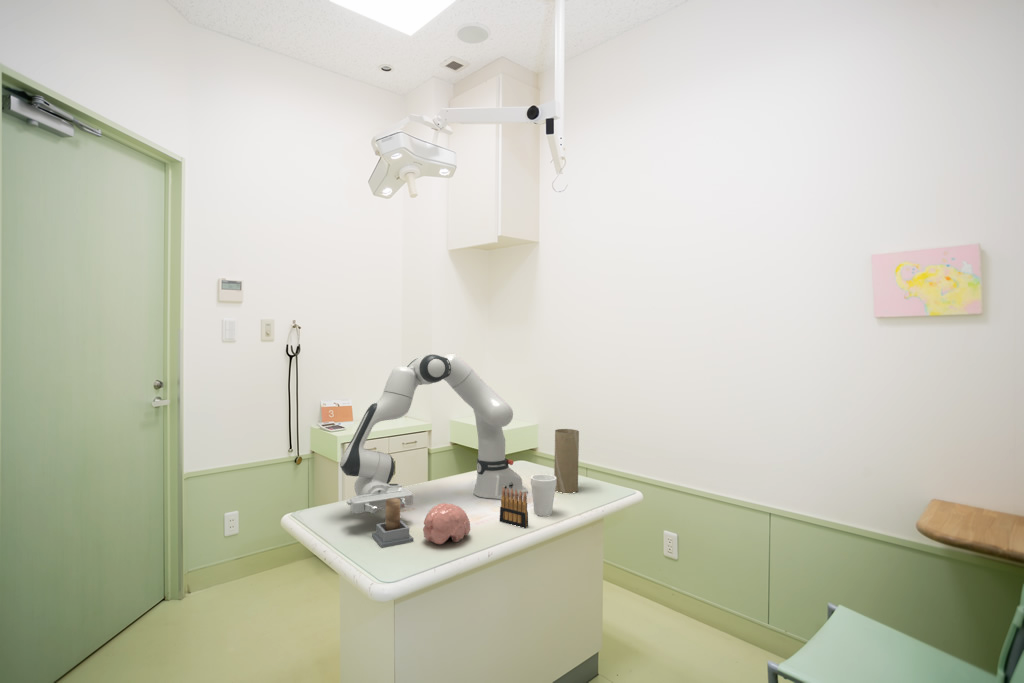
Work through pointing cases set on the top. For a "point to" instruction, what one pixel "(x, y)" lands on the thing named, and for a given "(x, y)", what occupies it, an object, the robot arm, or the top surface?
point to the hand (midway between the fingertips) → (389, 507)
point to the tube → (566, 460)
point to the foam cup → (543, 493)
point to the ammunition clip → (514, 508)
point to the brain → (446, 523)
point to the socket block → (392, 535)
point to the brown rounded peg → (392, 514)
